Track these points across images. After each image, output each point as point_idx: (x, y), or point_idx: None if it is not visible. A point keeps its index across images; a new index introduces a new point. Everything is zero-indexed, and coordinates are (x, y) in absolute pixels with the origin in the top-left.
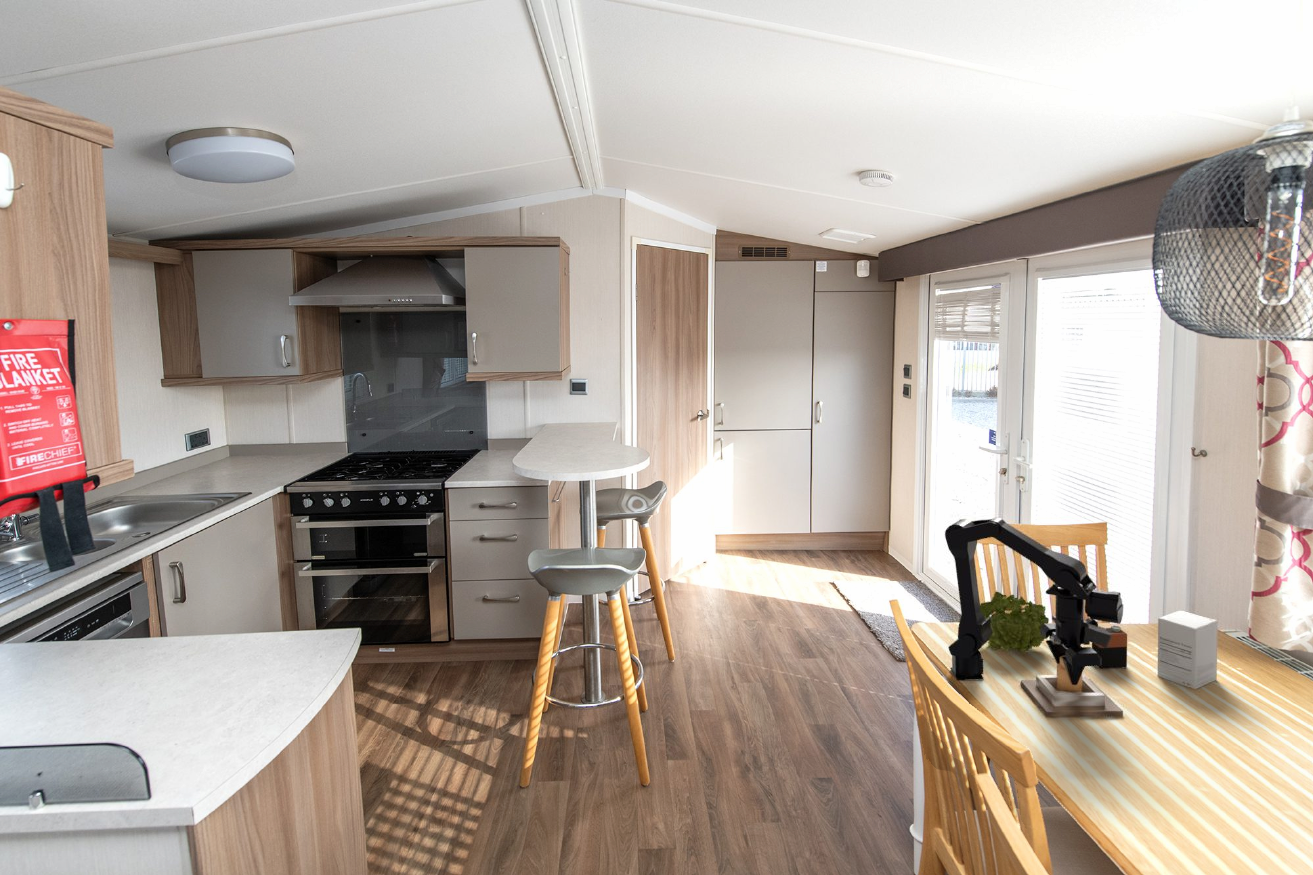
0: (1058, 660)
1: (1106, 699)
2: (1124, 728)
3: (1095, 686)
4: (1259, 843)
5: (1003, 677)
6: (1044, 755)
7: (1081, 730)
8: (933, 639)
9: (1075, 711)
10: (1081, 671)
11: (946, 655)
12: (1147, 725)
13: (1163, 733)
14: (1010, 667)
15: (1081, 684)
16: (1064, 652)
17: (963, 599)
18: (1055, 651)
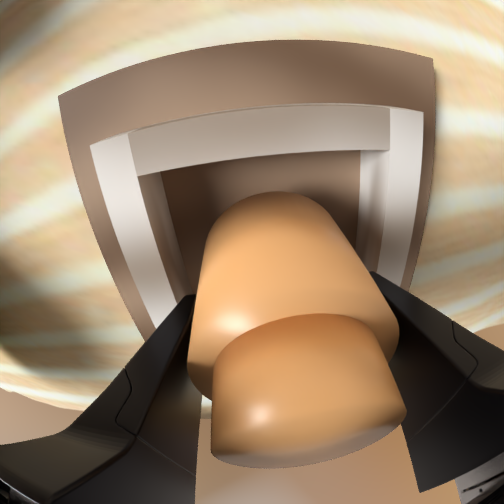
0: (195, 415)
1: (321, 63)
2: (483, 115)
3: (299, 109)
4: None
5: (122, 365)
6: (488, 325)
7: (468, 247)
8: (24, 394)
9: (417, 251)
10: (463, 335)
11: (69, 404)
12: (465, 28)
13: (494, 26)
14: (51, 334)
15: (335, 226)
16: (159, 459)
17: None
18: (187, 485)
